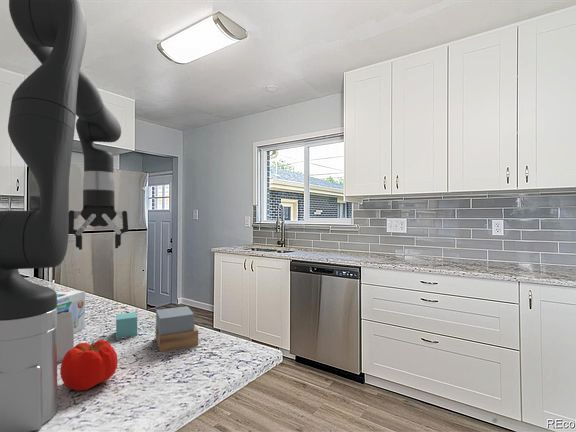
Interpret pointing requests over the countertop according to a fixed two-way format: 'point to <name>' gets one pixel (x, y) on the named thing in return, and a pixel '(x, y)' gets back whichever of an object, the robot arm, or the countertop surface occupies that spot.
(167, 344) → the base block
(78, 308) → the light bulb box
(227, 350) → the countertop surface
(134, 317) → the teal cube
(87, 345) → the tomato
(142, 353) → the countertop surface
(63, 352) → the white cardboard box
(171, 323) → the top block
